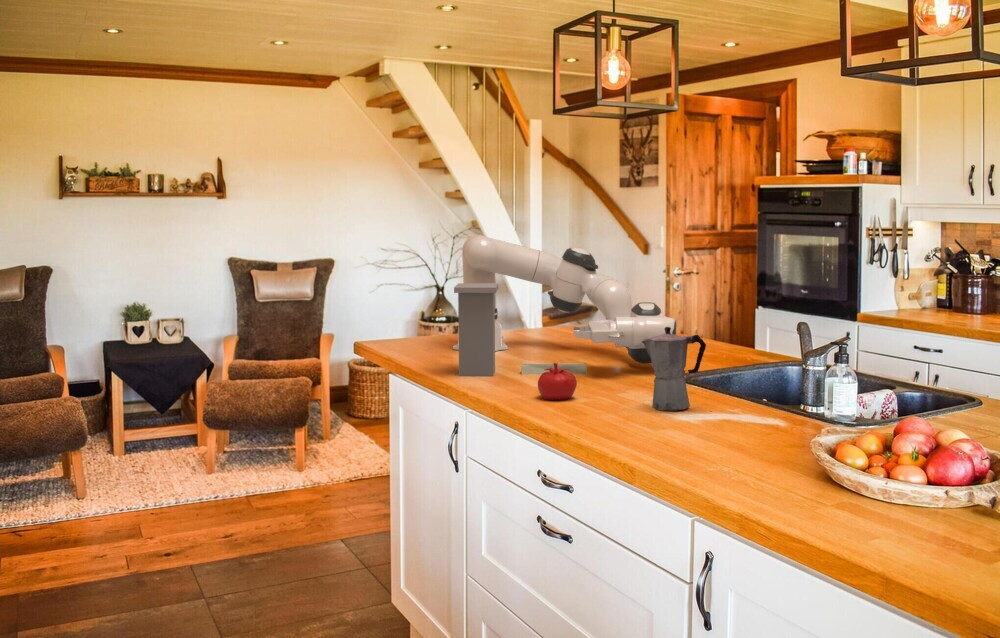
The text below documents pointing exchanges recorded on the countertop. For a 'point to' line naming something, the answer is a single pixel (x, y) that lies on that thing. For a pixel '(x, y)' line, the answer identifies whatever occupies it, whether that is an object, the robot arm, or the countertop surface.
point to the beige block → (540, 368)
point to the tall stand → (476, 328)
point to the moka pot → (671, 368)
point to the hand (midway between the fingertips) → (573, 332)
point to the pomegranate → (557, 384)
